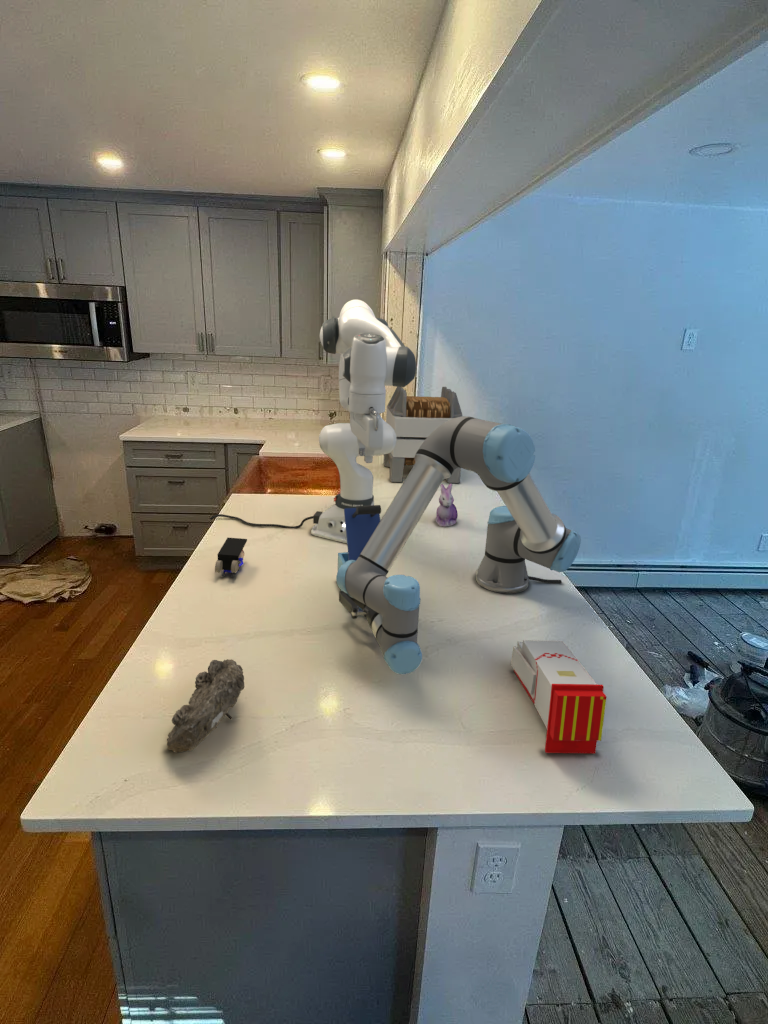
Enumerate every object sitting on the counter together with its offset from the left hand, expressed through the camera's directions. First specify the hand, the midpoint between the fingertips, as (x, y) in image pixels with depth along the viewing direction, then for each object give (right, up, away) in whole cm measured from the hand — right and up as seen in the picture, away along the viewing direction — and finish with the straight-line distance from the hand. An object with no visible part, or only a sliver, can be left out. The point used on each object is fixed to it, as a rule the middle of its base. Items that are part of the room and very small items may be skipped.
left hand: (365, 458), depth 143 cm
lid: (0, -21, +5) cm, 22 cm away
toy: (+38, -53, -27) cm, 71 cm away
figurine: (+28, -18, +69) cm, 77 cm away
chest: (-2, -36, +14) cm, 39 cm away
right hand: (0, -31, +7) cm, 32 cm away
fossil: (-28, -53, -35) cm, 69 cm away
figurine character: (-40, -31, +25) cm, 56 cm away
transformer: (+22, +5, +132) cm, 134 cm away
